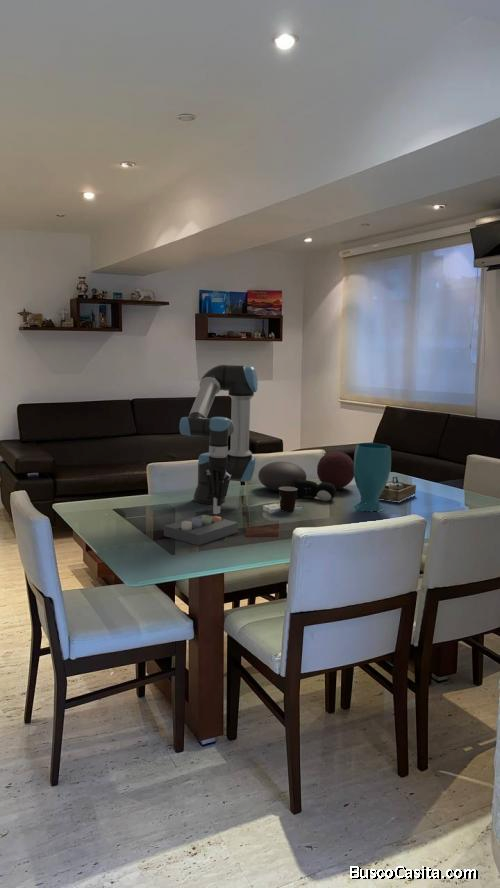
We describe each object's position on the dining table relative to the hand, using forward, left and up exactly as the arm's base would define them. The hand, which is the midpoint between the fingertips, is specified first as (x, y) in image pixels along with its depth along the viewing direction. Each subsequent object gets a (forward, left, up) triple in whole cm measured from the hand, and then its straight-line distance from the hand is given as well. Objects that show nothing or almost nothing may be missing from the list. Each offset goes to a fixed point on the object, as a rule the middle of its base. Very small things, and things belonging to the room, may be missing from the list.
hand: (216, 513), depth 272 cm
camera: (+28, +109, -7) cm, 112 cm away
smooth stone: (-21, +79, -7) cm, 82 cm away
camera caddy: (+29, +107, -7) cm, 111 cm away
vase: (+30, +77, -7) cm, 83 cm away
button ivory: (0, -18, -4) cm, 19 cm away
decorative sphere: (-3, +103, -7) cm, 103 cm away
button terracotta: (0, 0, -5) cm, 5 cm away
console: (0, -9, -7) cm, 12 cm away
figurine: (+2, +75, -7) cm, 75 cm away
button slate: (0, -12, -4) cm, 13 cm away
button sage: (0, -6, -4) cm, 7 cm away
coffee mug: (+3, +48, -7) cm, 49 cm away
